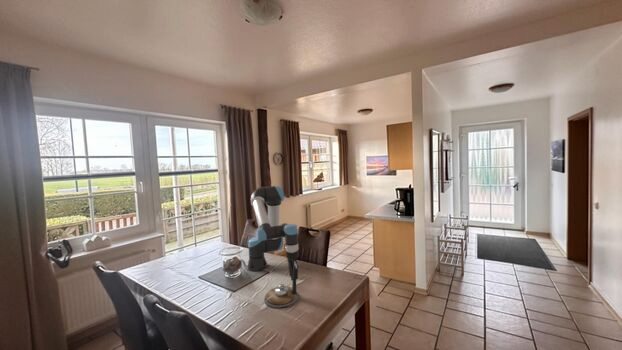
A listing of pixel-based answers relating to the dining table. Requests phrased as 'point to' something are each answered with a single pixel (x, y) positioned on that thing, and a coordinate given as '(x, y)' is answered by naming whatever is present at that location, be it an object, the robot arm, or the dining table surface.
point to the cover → (281, 291)
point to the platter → (281, 300)
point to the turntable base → (281, 305)
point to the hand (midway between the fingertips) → (294, 289)
